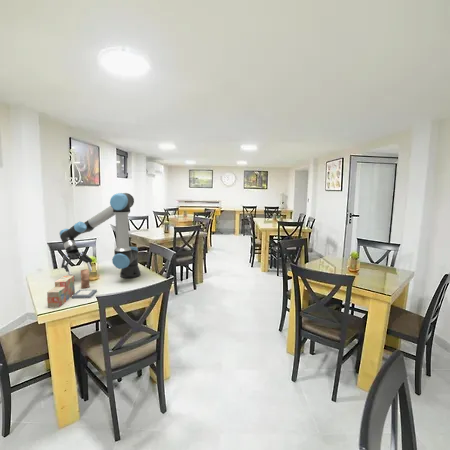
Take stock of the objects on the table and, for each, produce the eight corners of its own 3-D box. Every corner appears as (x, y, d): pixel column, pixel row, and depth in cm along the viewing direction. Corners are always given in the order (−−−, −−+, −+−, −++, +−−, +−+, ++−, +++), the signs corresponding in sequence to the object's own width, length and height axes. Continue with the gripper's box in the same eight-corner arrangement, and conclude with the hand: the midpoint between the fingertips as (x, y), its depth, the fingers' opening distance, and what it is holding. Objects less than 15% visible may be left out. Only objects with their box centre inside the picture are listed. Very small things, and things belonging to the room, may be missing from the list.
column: (90, 286, 191) (90, 269, 190) (87, 288, 187) (87, 271, 185) (83, 286, 191) (82, 269, 189) (80, 288, 186) (79, 271, 185)
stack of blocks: (59, 307, 157) (58, 286, 155) (47, 307, 156) (46, 287, 154) (75, 293, 178) (74, 275, 176) (64, 293, 177) (63, 275, 175)
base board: (96, 291, 181) (96, 289, 181) (90, 298, 171) (90, 295, 170) (79, 291, 180) (79, 289, 180) (71, 298, 169) (71, 295, 169)
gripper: (87, 248, 208) (97, 272, 201) (50, 253, 189) (59, 280, 182) (90, 242, 204) (100, 266, 197) (52, 247, 185) (62, 274, 178)
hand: (81, 273), depth 189 cm, fingers open, 13 cm apart
